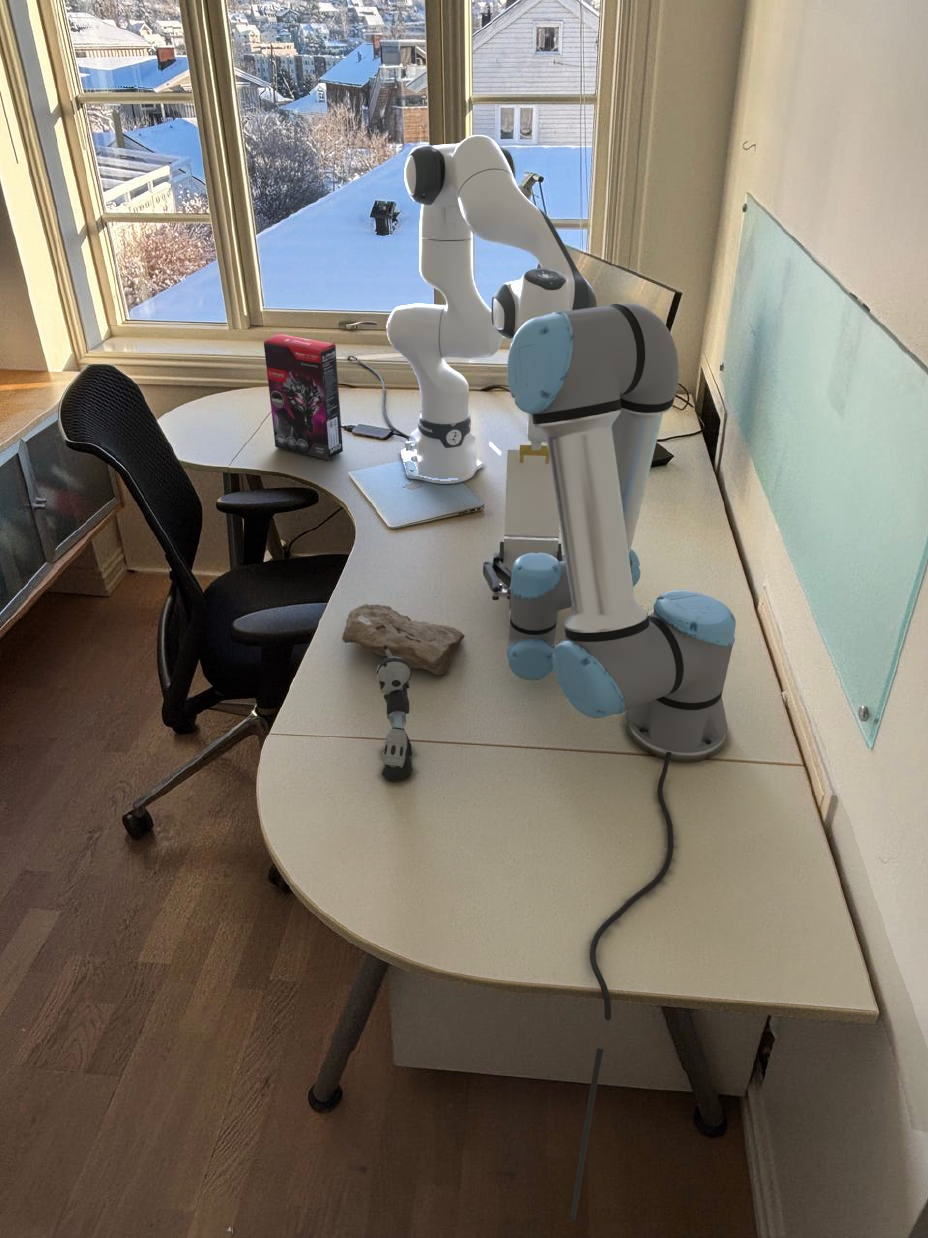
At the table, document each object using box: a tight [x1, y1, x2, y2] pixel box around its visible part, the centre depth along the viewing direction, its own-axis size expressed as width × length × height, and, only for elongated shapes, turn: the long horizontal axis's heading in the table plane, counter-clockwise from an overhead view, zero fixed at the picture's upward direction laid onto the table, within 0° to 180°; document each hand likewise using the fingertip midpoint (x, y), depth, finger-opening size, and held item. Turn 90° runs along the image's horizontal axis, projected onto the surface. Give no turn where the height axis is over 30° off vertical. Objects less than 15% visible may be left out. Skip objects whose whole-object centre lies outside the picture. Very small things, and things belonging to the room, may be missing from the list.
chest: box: [501, 501, 560, 588], centre depth 181 cm, size 16×10×10 cm, turn 177°
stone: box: [341, 603, 465, 677], centre depth 158 cm, size 21×15×6 cm
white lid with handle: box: [503, 443, 560, 539], centre depth 169 cm, size 16×10×8 cm
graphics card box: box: [263, 333, 344, 460], centre depth 223 cm, size 17×7×27 cm, turn 62°
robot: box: [375, 645, 413, 783], centre depth 131 cm, size 20×5×20 cm, turn 3°
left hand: (535, 446), depth 166 cm, fingers closed
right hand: (530, 548), depth 176 cm, fingers closed on chest, 10 cm apart
